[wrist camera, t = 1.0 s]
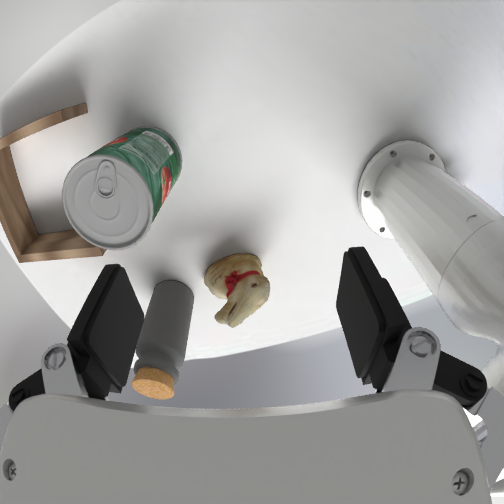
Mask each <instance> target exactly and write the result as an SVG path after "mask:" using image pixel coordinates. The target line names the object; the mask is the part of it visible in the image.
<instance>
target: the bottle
mask: <svg viewBox="0 0 504 504" xmlns="http://www.w3.org/2000/svg"><path fill="white" fill-rule="evenodd" d="M193 303H194V296H193V293H192V291H191V290H190V288H189V287H188V286H186V285H185V284H183V283H181V282H178V281H174V280H167V281H163V282H160V283H159V284H158V285H157V286H156V287H155V289H154V292H153V294H152V297H151V300H150V303H149V306H148V309H147V312H146V316H145V319H144V323H143V326H142V329H141V333H140V336H139V339H138V343H137V346H136V354H137V356H138V358H139V359H138V360H137V361H136V362H135V365H134V373H135V377H134V379H133V381H132V386H133V388H134V389H135V390H136V391H138V392H139V393H141V394H143V395H145V396H148V397H151V398H156V399H168V398H171V397H173V396H174V385H175V384H176V383H177V382H178V377H179V372H178V370H177V368H179V367H181V366H182V365H183V362H184V358H185V352H186V346H187V340H188V334H189V327H190V321H191V315H192V309H193Z"/></svg>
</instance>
